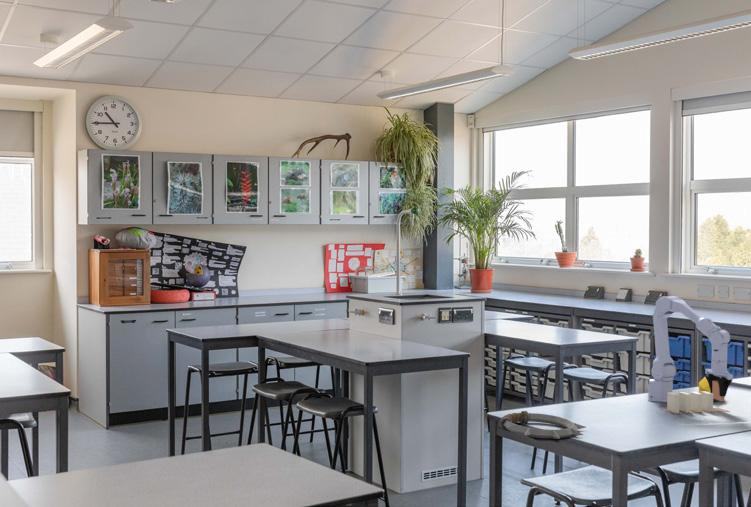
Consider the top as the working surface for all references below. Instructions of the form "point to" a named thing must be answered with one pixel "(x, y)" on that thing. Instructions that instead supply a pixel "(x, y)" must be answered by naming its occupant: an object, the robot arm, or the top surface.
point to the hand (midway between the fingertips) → (718, 394)
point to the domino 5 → (716, 391)
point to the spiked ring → (526, 417)
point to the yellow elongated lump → (704, 386)
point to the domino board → (697, 412)
